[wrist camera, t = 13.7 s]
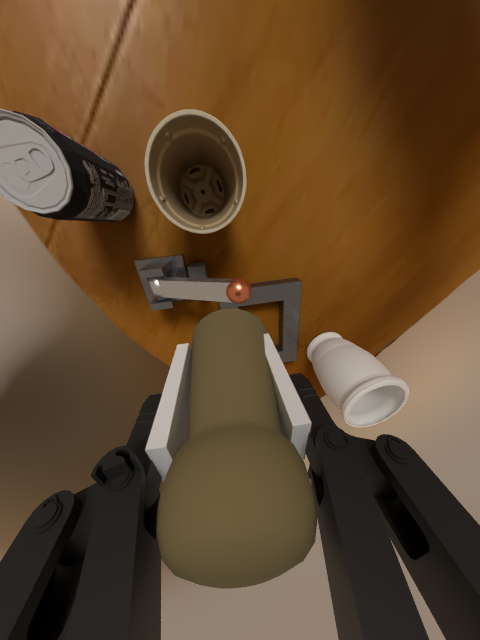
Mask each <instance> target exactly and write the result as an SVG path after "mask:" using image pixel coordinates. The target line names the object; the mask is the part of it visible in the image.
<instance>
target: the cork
mask: <svg viewBox="0 0 480 640" xmlns="http://www.w3.org/2000/svg"><path fill="white" fill-rule="evenodd" d="M264 334H267V331H266V327H265V326H264V324H263V323H262V322H261V320H260V319H259V318H258V317H256V316H255V315H253V314H252V313H250V312H248V311H244V310H241V309H237V308H233V309H221V310H218V311H215V312H212V313H210V314H209V315H207V316H206V317H204V318H203V319H201V321H200V322H199V323H198V325H197V326H196V328H195V329H194V333H193V337H192V349H191V369H190V389H189V409H188V428H187V441H186V442H185V444H184V445H183V446H182V447H181V448H180V449H179V450H178V451H177V452H176V454H175V456H174V458H173V460H172V463H171V465H170V467H169V469H168V471H167V474H166V477H165V481H164V484H163V488H162V492H161V496H160V500H159V504H158V509H157V527H156V535H157V540H158V545H159V550H160V555H161V559H162V560H163V562H164V563H165V565H166V566H167V567H168V568H169V569H170V570H171V572H172V573H173V574H174V575H175V576H177V577H180V578H182V579H185V580H188V581H191V582H194V583H196V584H199V585H203V586H209V587H216V588H239V587H247V586H252V585H257V584H260V583H263V582H266V581H269V580H271V579H273V578H276V577H278V576H280V575H282V574H283V573H285V572H286V571H288V570H289V569H291V568H293V567H294V566H296V565H297V564H299V563H301V562H302V561H303V560H304V559H305V557H306V556H307V554H308V553H309V551H310V549H311V548H312V546H313V544H314V543H315V536H316V527H317V511H316V503H315V496H314V491H313V488H312V484H311V481H310V478H309V475H308V473H307V470H306V467H305V464H304V461H303V460H302V458H301V456H300V454H299V453H298V451H297V449H296V447H295V446H294V444H293V443H292V442H290V441H289V440H288V439H287V438H286V437H285V436H284V435H283V434H282V433H281V425H280V418H279V411H278V405H277V400H276V395H275V390H274V385H273V380H272V377H271V373H270V370H269V366H268V362H267V359H266V355H265V344H264Z"/></svg>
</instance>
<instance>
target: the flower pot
mask: <svg viewBox="0 0 480 640" xmlns="http://www.w3.org/2000/svg"><path fill="white" fill-rule="evenodd" d="M196 167H197V168H199V169H200V170H199V171H196V172H194V173H192V174H191V173H190V171H191V170H192V169H193V168H196ZM145 174H146V180H147V184H148V187H149V190H150V193H151V195H152V197H153V199H154V201H155V203H156V205H157V206H158V208H159V209H160V210H161V212H162V213H163V214H164V215H165V216H166V217H167V218H168V219H169V220H170V221H171V222H172V223H174V224H175V225H176V226H178V227H180V228H182V229H184V230H186V231H189V232H192V233H198V234H207V233H212V232H216V231H218V230H220V229H222V228H224V227H225V226H227V225H228V224H229V223H230V222H231V221H232V220H233V219H234V218H235V216H236V215H237V213H238V212H239V210H240V208H241V206H242V203H243V200H244V197H245V192H246V169H245V163H244V159H243V156H242V153H241V150H240V148H239V145H238V144H237V142H236V140H235V138H234V137H233V135H232V134H231V132H230V131H229V130H228V129H227V128H226V126H224V125H223V124H222V123H221V122H220V121H219V120H218V119H216V118H215V117H213V116H212V115H210V114H207V113H205V112H203V111H199V110H192V109H187V110H181V111H177V112H175V113H172V114H170V115H169V116H167V117H166V118H164V119H163V120H162V121H161V122H160V123H159V124H158V125H157V126H156V128H155V129H154V131H153V133H152V135H151V137H150V138H149V141H148V145H147V148H146V154H145ZM217 181H218V182H219V183H220V185H221V188H222V191H221V192H220V191H219V188H218V184H217ZM202 190H203V191H204V194H202V193H201V191H202ZM185 194H186V195H187V197H188V200H189V203H187V201H186V199H185ZM212 208H213V210H214V212H213V213H210V214H206V212H205V211H207V210H210V209H212Z"/></svg>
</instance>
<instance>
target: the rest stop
mask: <svg viewBox="0 0 480 640" xmlns="http://www.w3.org/2000/svg"><path fill="white" fill-rule="evenodd" d="M187 269H188V273H189V278H208V276H207V270H206V265H205V262H201V263H192V264H189V266H188V268H187Z"/></svg>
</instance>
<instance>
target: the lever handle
mask: <svg viewBox="0 0 480 640" xmlns="http://www.w3.org/2000/svg"><path fill="white" fill-rule="evenodd" d="M147 280H148V283H149V286H150V289H151V292H152V295H153V298H154V300H156V301H161V300H165V299H168V298H178V299H191V300H204V301H217V302H231V303H236V304H241V303H244V302H246V301H247V300H248V299H249V297H250V295H251V286H250V284H249V283H248V281H246V280H245V279H243V278H234V279H227V278H179V277H166V276H165V275H164V276H159V277H151V278H147Z"/></svg>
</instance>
